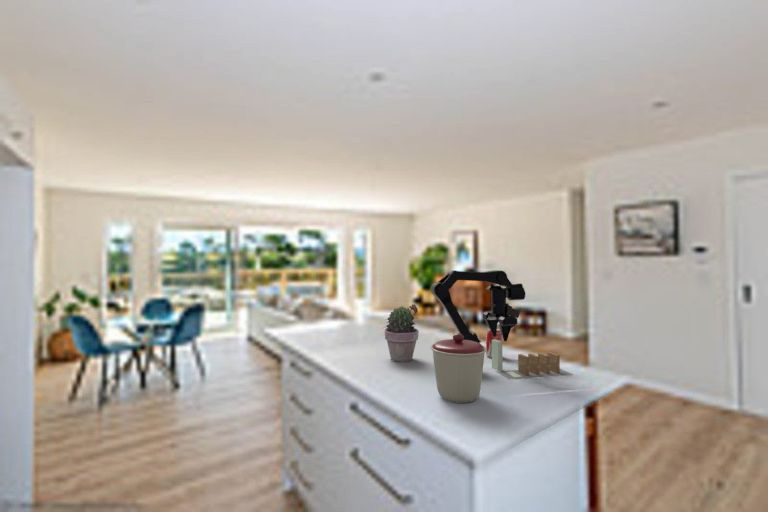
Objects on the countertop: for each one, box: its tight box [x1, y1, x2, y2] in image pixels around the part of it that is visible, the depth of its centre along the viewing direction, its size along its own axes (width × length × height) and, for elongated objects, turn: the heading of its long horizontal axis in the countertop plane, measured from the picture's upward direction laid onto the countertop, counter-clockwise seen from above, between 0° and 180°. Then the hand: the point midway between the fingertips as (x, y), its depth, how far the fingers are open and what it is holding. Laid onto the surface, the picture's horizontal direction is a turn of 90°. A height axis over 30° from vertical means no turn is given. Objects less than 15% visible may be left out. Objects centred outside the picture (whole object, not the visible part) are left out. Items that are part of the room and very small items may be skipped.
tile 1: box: [491, 339, 504, 371], centre depth 152 cm, size 2×5×12 cm, turn 12°
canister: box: [430, 332, 487, 404], centre depth 122 cm, size 18×18×21 cm
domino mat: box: [494, 368, 573, 380], centre depth 147 cm, size 28×10×1 cm, turn 102°
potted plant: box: [378, 303, 419, 363], centre depth 170 cm, size 18×20×25 cm
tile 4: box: [537, 352, 550, 374], centre depth 148 cm, size 2×5×7 cm, turn 12°
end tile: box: [547, 351, 561, 373], centre depth 149 cm, size 2×5×7 cm, turn 12°
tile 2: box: [517, 353, 529, 376], centre depth 146 cm, size 2×5×7 cm, turn 12°
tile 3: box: [527, 353, 540, 375], centre depth 147 cm, size 2×5×7 cm, turn 12°
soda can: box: [485, 327, 503, 359], centre depth 173 cm, size 7×7×13 cm
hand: (499, 338), depth 152 cm, fingers open, 9 cm apart
